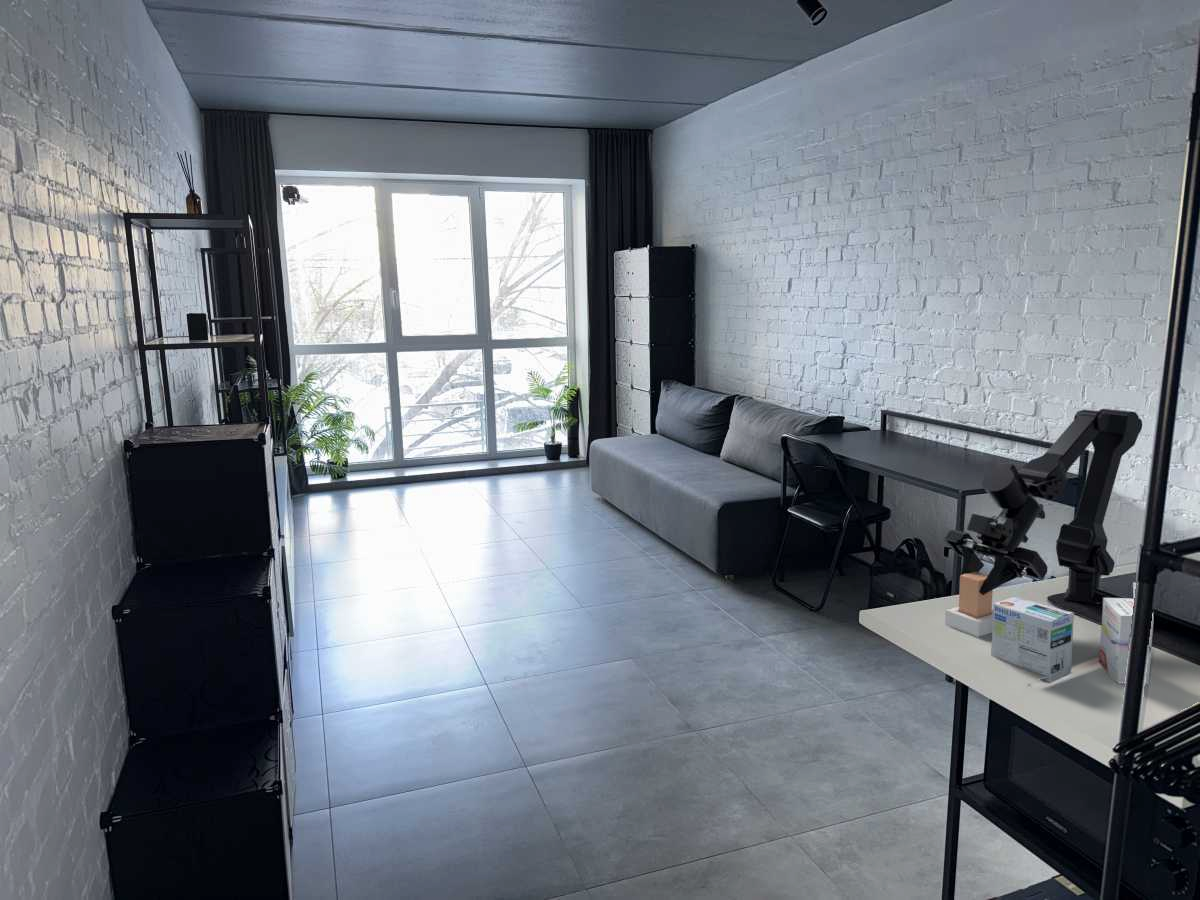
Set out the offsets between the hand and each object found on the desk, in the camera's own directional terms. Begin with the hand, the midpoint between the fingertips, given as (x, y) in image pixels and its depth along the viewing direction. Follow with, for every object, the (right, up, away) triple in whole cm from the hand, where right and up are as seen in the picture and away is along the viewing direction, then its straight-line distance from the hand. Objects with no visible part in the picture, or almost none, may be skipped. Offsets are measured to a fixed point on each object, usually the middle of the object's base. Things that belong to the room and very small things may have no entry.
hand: (970, 590), depth 158 cm
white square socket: (+1, -7, +2) cm, 8 cm away
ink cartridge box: (+18, -11, -17) cm, 27 cm away
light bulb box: (+4, -11, -13) cm, 18 cm away
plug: (+1, -7, +2) cm, 7 cm away
